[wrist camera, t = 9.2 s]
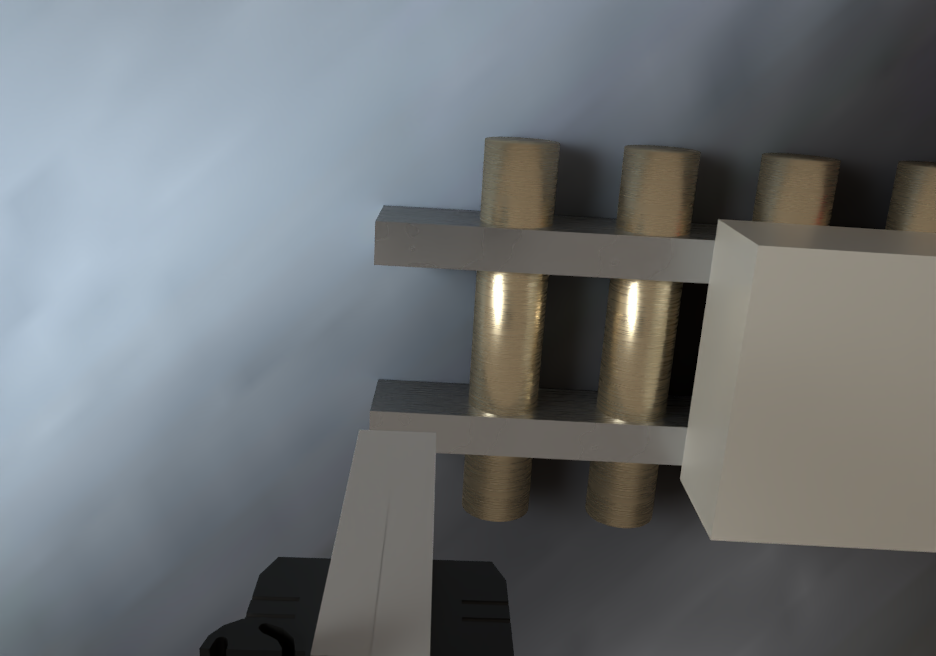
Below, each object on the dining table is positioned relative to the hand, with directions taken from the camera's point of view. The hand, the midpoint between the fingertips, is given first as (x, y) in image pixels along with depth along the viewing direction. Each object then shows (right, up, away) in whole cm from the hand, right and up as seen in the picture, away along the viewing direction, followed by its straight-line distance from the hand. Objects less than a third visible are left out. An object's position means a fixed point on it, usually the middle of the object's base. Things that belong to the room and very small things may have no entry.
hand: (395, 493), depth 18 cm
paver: (+15, +2, +12) cm, 19 cm away
